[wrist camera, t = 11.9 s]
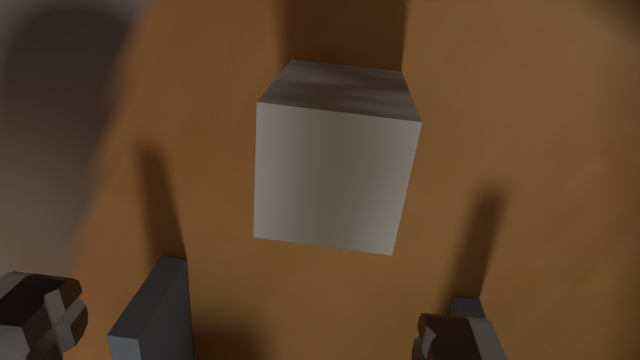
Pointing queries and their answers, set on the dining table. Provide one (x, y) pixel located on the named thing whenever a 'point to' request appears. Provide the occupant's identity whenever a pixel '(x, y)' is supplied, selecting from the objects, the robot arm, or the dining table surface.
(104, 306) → the dining table surface
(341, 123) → the cream block
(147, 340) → the open u-shaped frame
